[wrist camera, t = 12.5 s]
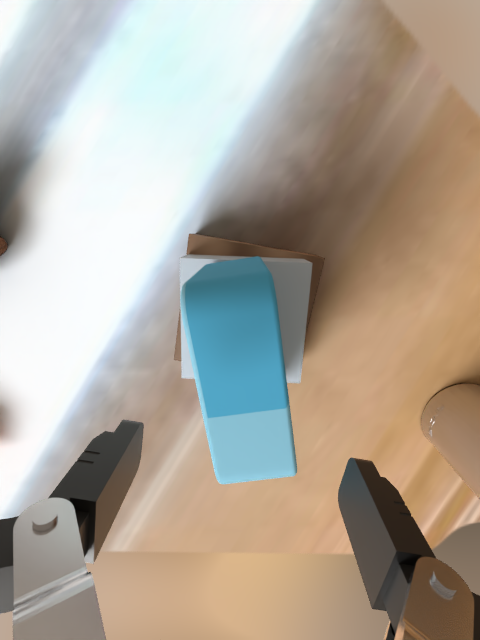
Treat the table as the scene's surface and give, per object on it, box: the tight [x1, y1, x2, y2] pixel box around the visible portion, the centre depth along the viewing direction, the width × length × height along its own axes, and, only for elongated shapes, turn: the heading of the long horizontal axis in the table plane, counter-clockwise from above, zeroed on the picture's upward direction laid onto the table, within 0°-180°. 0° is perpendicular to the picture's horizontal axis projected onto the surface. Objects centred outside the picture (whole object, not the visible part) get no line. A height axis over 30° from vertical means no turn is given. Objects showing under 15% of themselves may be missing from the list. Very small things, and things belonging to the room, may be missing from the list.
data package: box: [180, 256, 297, 484], centre depth 21 cm, size 12×4×12 cm, turn 9°
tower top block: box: [179, 254, 313, 383], centre depth 29 cm, size 11×11×4 cm
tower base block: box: [174, 234, 325, 361], centre depth 33 cm, size 13×13×4 cm
